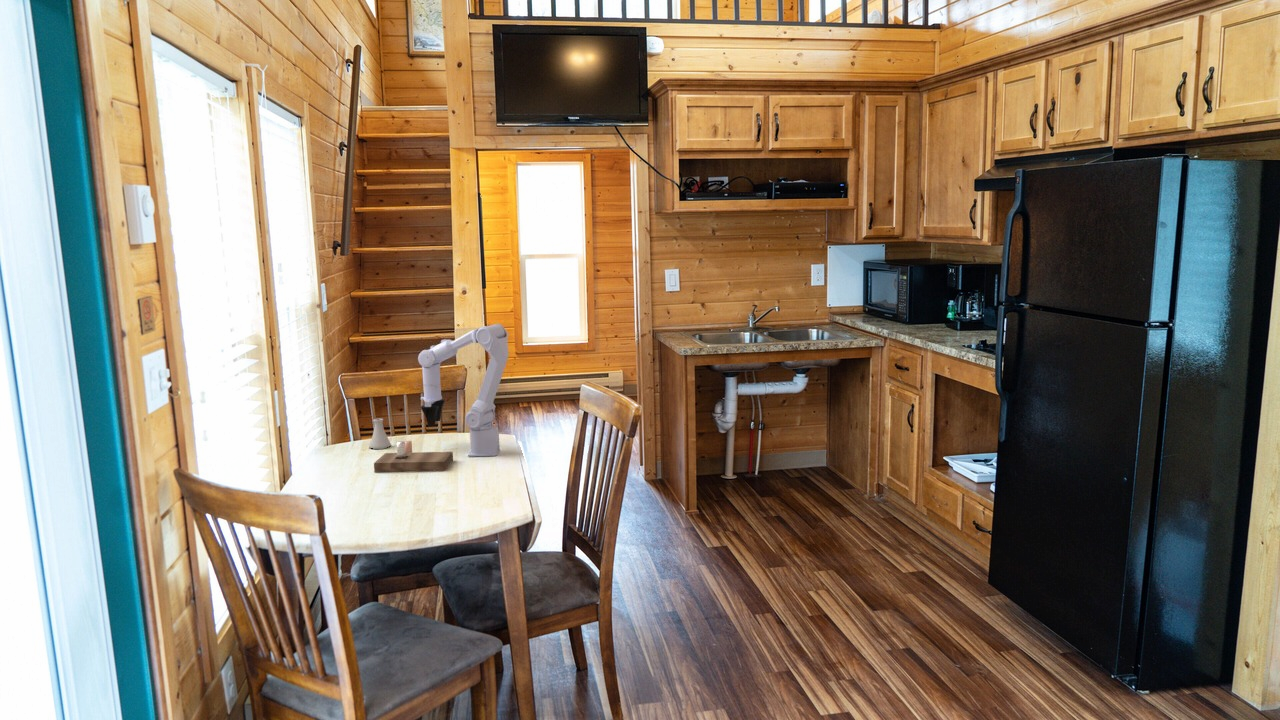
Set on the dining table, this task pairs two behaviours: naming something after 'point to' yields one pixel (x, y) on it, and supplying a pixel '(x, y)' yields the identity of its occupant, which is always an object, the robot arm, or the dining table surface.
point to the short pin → (408, 446)
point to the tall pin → (401, 450)
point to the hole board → (414, 462)
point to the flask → (379, 436)
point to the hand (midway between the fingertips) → (434, 423)
